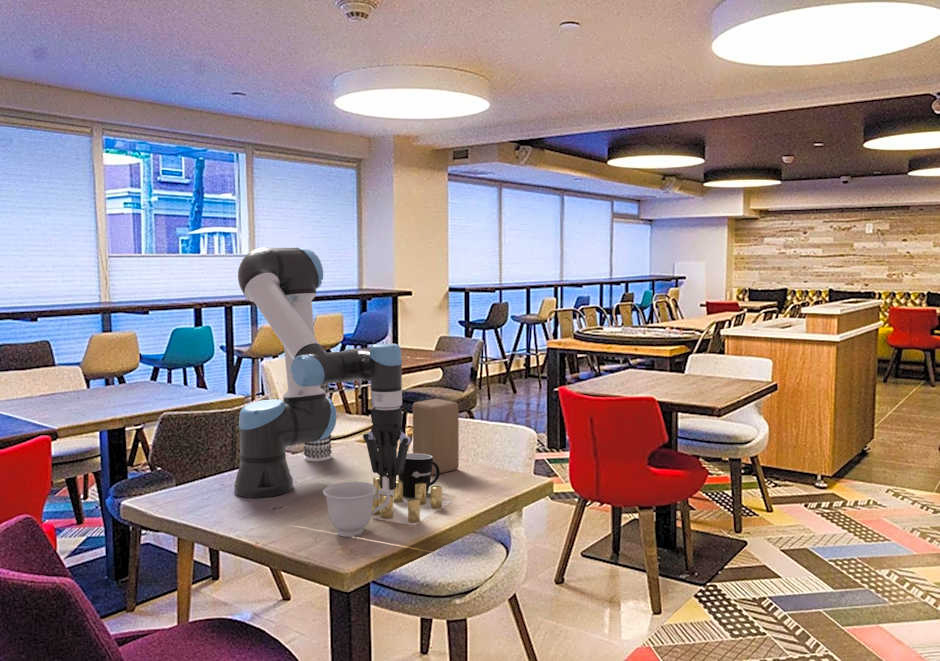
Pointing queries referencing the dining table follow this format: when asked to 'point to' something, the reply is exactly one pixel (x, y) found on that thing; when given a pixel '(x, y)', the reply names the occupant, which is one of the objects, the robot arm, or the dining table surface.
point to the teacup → (352, 505)
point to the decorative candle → (319, 442)
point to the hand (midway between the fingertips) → (388, 501)
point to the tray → (402, 511)
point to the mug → (417, 473)
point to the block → (437, 432)
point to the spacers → (412, 503)
